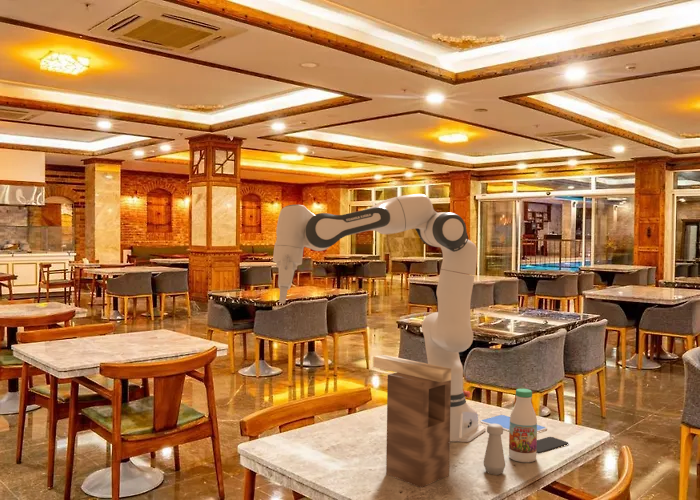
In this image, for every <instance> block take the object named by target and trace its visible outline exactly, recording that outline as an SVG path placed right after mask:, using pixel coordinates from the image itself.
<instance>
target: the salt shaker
mask: <svg viewBox="0 0 700 500" xmlns="http://www.w3.org/2000/svg"><path fill="white" fill-rule="evenodd" d="M486 431H487V434H489V435H488V440H487V444H486V449H485V454H484V457H483V466H484V469H485V471H486V473H488V474H489V475H498V476H499V475H501V474H502V473H503V472H504V469H505V467H506V460H505V454H504V446H503V441H502V436H501V435H503V434H504V430H503V427H502V426H501V425H499V424H489V425H487V426H486Z"/></svg>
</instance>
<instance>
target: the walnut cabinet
mask: <svg viewBox="0 0 700 500" xmlns="http://www.w3.org/2000/svg"><path fill="white" fill-rule="evenodd" d="M386 387H387V389H386V390H387V392H386V393H387V395H386V397H387V398H386V399H387V400H386V455H385V456H386V458H385V459H386V461H385V463H386V464H385V465H386V467H385V473H386V474H385V475H387V476H390V477H392V478H395V479H398V480H400V481H403V482H405V483H407V484H410V485H413V486H416V487H418V488H423V487H426V486H428V485H431V484H433V483H435V482H437V481H439V480H442V479H444V478H446V477H449V476H450V457H451V455H450V449H451V448H450V447H451V446H450V445H451V441H450V402H451V380H449V381H446V382H437V381H433V380H428V379H424V378H420V377H415V376H411V375H406V374H402V373H398V372H393V373H389V374H387V386H386Z"/></svg>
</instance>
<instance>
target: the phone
mask: <svg viewBox="0 0 700 500" xmlns="http://www.w3.org/2000/svg"><path fill="white" fill-rule="evenodd" d="M567 444H568V445H569V442H568V441H566V440H564V439H563V440H562V439H559V438H556V437H554V436H546V437H544V438H541V439H540V438H539V439H537V452H536V454H543V453H546V452H549V451H552V449H553V450H556V449H559V448H558V447H560V448H562V447H561V446H563V447H565V446H564V445H567ZM568 445H567V446H568ZM555 448H556V449H555ZM542 452H543V453H542Z"/></svg>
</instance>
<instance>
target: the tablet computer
mask: <svg viewBox="0 0 700 500" xmlns="http://www.w3.org/2000/svg"><path fill="white" fill-rule="evenodd" d="M480 422H481V423H480ZM479 423H480V424H483V423H484V424H483V425H487V426H488V425H489V424H499V425H501V426H502V427H503V429H504V430H503V431H506V430H508V431H507V432H509V427H510V416H507V415H505V414H500V415H495V416H492V417H487V418H483V419H481V420H479ZM546 429H547V430H548V428H547V427H546V426H543V425H539V424H537V432H540V431H543V432H545V431H544V430H546ZM547 430H546V431H547ZM540 433H541V432H540Z"/></svg>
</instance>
